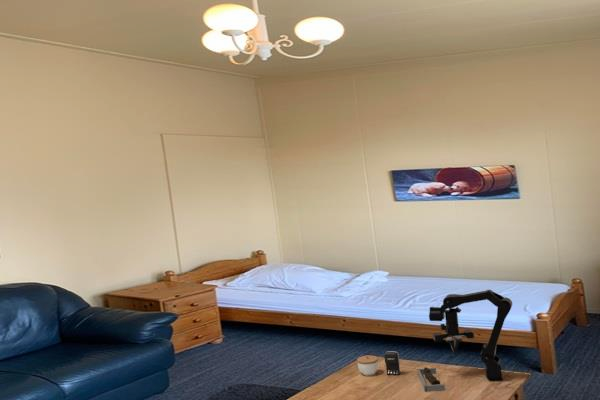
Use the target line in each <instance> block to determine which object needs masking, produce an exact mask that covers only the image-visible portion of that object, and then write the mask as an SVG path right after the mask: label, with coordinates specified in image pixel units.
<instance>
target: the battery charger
mask: <svg viewBox="0 0 600 400" xmlns="http://www.w3.org/2000/svg"><path fill="white" fill-rule="evenodd" d="M384 363H385V370H386V375H387V376H399V375H401V370H400V355H399V352H397V351H391V350H390V351H386V352H385V353H384Z"/></svg>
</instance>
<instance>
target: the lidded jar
mask: <svg viewBox="0 0 600 400" xmlns="http://www.w3.org/2000/svg"><path fill="white" fill-rule="evenodd" d="M356 361H357V367H358V371H360V373H361V374H362V375H363V376H366V377H367V376H368V377H369V376H374V375H375V373H376V372H378V368H379V357H377V356H375V355H368V354H367V355H361V356H360V357H357V359H356Z"/></svg>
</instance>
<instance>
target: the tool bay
mask: <svg viewBox="0 0 600 400" xmlns="http://www.w3.org/2000/svg"><path fill="white" fill-rule="evenodd" d="M427 368H428V367H427ZM428 369H429V370H430V371H431V373H432V374H433V375H434V374H437V367H429V368H428ZM417 375H418V379H419V381H420V383H421V385H422V387H423V389H424V392H436V391H437V392H439V391H446V388H445V383H442V384H441V383H440V384H437V385H432V384H429V385H428V384H427V383H426V381H425V379H424V377H423V376H424V375H425V374H424V368H417Z"/></svg>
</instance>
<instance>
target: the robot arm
mask: <svg viewBox="0 0 600 400" xmlns="http://www.w3.org/2000/svg"><path fill="white" fill-rule="evenodd" d="M480 301H489V302H490V303H492V304H493V305H494V306H495V307H497V313H496V319H495V321H494V324H493V328H492V331H491V333H490V337H489V341H488V342H487V344H486V343H484V344H483V345H482V349H481V352H480V354H479V356H481V357H480V360H481V361H482V362H483V363H484V364H485V368H484V372H485V378H486V379H487V380H488V381H489V382H496V381H504V378H503V376H502V375H503V374H502V373H503V372H502V365H501V364H500V362H501V358H500V357H499V356H498V355H497V354H496V353H497V344H498V341H499V338H500V335H501V332H502V329H503V326H504V322H505V320H506V319H507V316H508V314H509V313H510V311H511V309H512V306H513V301H512V300H511V298H509V297H504V296H503V295H501V294H499V293H497V292H494V291H493V290H491V289H486V290H482V291H477V292H476V291H475V292H472V293H471V292H469V293H464V294H458V293H457V294H456V293H454V294H453V293H451V294H450V293H449V294H447V295H446V296H445V297H444V299H443V300H442V305H441V306H437V307H435V306H430V307H429V313H428V319H429V321H430V322H443V320H445V323H440V327H439V328H440V331H441V332H433V333H432V339H433V340H434V342H436V343H437V342H443V340H445V341H446V343H449V345H450V347H451V350H452V351H453V354H457V351H458V348H459V345H460V343H461V342H463V339H462V338H463V337H465V338H467V339H469V340H470V339H474V338H475V333H474V332H473V331H472V330H471V329H463V330H462V332H460V330H459V329H460V328H459V326H460V325H459V319H458V318H459V317H458V313H461V312H462V309H461V308H460V307H459V306H461V305H464V304H468V303H469V304H470V303H474V302H475V303H476V302H480ZM442 332H444V334H443V333H442Z"/></svg>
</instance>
